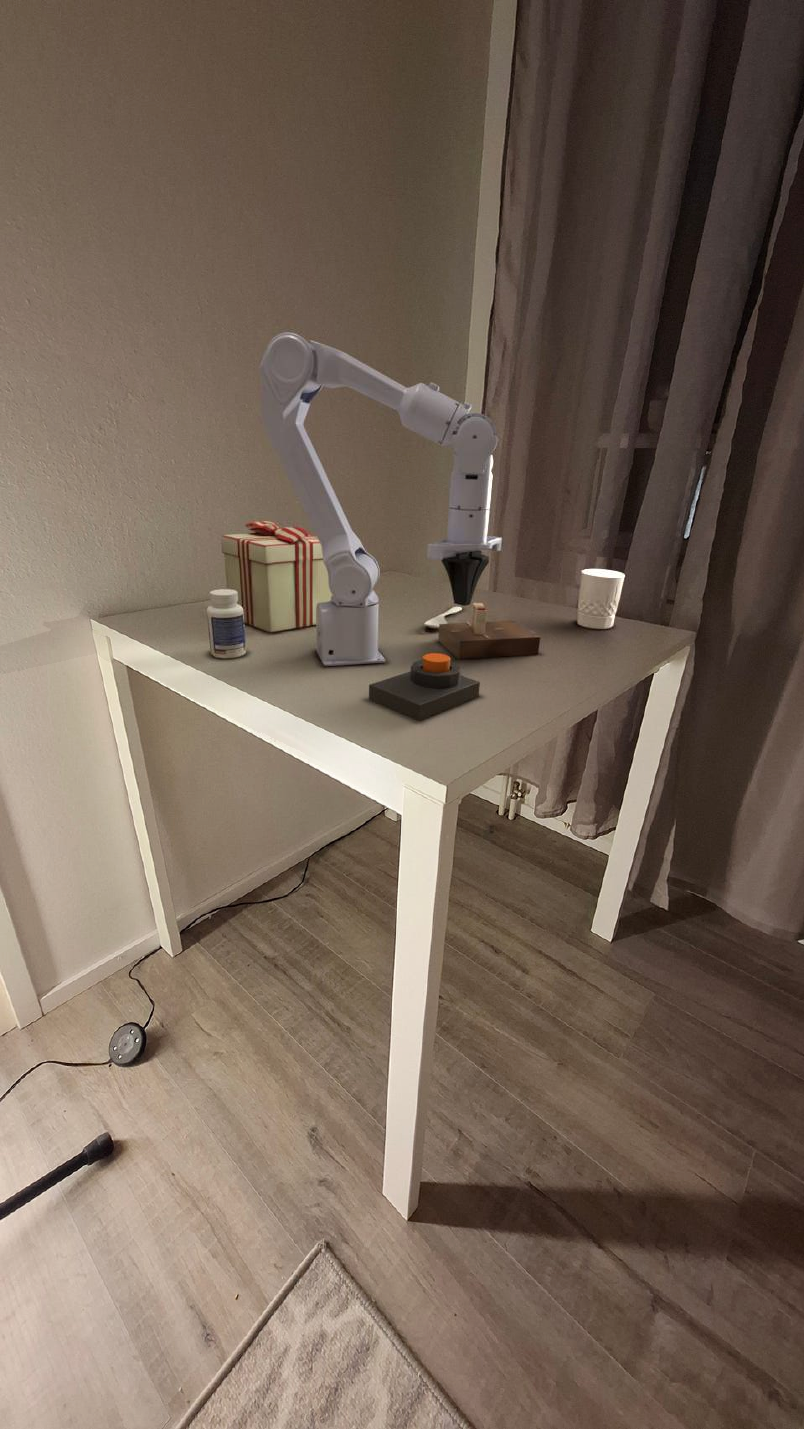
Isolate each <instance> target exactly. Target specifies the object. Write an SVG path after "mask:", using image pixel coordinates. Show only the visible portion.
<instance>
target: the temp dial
mask: <svg viewBox="0 0 804 1429" xmlns="http://www.w3.org/2000/svg"><path fill="white" fill-rule="evenodd" d="M487 612H488V611H487V609H486V607H485V606H484V604H483V603H482V602H481V603H480V602H473V603H472V610H471V619H470V620H471V621H470V623H471V627H472V629H473V632H474V634H475V635H484V634H485V623H486V622H487Z"/></svg>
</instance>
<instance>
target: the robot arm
mask: <svg viewBox="0 0 804 1429" xmlns="http://www.w3.org/2000/svg"><path fill="white" fill-rule="evenodd" d="M259 373H260V378H261V383H262V385H261V386H262V388H261V390H262V391H261V421H262V422H261V423H262V426H263V429H264V430H265V433H266V435H267V437H268V439H269V442H270V443H271V445H272V447H273V449H274V451H275V453H276V455H277V458H278V460H279V461H280V462H279V463H280V464H281V466H282V468H283V470H284V473H285V474H286V477H287V478H288V480H289V482H290V485H291V486H292V488H293V490H294V493H295V495H296V497H297V498H298V500H299V502H300V505H301V507H302V509H303V511H304V513H305V514H306V517H307V519H308V521H309V523H310V526H311V527H312V529H313V532H314V533H315V536H317V538H318V540H319V542H320V544H321V546H322V553H323V562H324V564H325V566H326V569H327V571H328V584H329V589H330V591H331V593H332V595H333V596H331V601H328V602H320V603H318V604H317V608H316V627H315V628H316V630H315V631H316V649H315V650H316V653H317V655H318V656H319V659H320V661H321V663H322V665H323V666H324V667H336V666H351V665H363V664H364V665H366V664H381V663H382V664H383V663H386V659H385V657H384V655H382V654H381V653H380V651H379V650H378V649H379V607H380V606H379V604H380V602H379V601H380V598H379V596H378V595H377V594H376V592H375V590H374V587H375V586H376V585H377V583H378V582H379V580H380V576H381V571H380V569H381V568H380V566H379V563H378V561H377V559H376V558H375V557H374V556H373V555H371V554H370V553H369V552H367V550H366V549H365V547H364V546H363V543H362V541H361V540H360V539H359V537H358V536H357V535H356V533H355V532H354V531H353V530H352V527H351V525H350V523H349V521H348V519H347V517H346V515H345V513H344V510H343V508H342V505H341V504H340V502H339V499H338V496H337V495H336V493H335V490H334V489H333V487H332V484H331V482H330V480H329V478H328V476H327V474H326V471H325V469H324V467H323V464H322V463H321V461H320V458H319V456H318V454H317V452H316V450H315V447H314V446H313V444H312V441H311V439H310V437H309V435H308V433H307V431H306V428H305V426H304V423H305V420H306V417H307V414H308V411H309V410H310V406H311V402H312V401H313V400H314V399H315V397H316V396H317V395H318V394H319V393H320V391H321V390H322V389H323V387H325V388H328V389H337V388H343V387H347V388H349V389H352V390H354V391H356V392H358V393H360V394H362V395H364V396H366V397H368V398H370V399H372V400H374V401H376V402H378V403H380V404H381V405H382V404H383V405H385V407H389V408H391V409H393V410H395V411H397V412H398V415H399V418H400V421H401V425H402V426H403V428H405V429H408V430H410V431H411V432H414V433H415V434H417V435H419V436H421V437H423V438H425V439H427V440H428V441H431V442H432V443H435V444H436V445H438V446H441V447H443V448H447V447H449V446H452V447H453V450H454V452H455V453H454V454H453V469H452V471H451V472H450V482H449V483H450V484H449V498H448V512H447V513H448V514H447V528H446V530H447V531H446V539H442V540H440V541H437V542H436V541H435V542H432V543H428V544H427V557H426V558H427V559H430V560H435V561H441V563H442V565H443V566H444V569H445V571H446V573H447V576H448V579H449V583H450V588H451V594H452V599H453V604H454V605H458V606H463V607H466V606H470V605H471V602H472V599H473V596H474V593H475V590H476V588H477V585H478V583H479V581H480V578H481V576H482V574H483V572H484V571H485V569H486V567H487V566H488V565H489V563H490V556H489V555H486V554H482V553H486V552H501V550H502V540H503V538H502V537H501V536H500V537H499V536H493V535H489V536H488V534H489V533H488V532H489V520H490V509H491V498H492V488H493V476H494V475H493V473H492V470H493V467H494V458H493V452H494V451H495V449H496V447H497V444H498V442H499V437H498V436H497V435H498V433H497V428H496V426H495V424H494V422H493V420H492V419H491V418H489V416H487V415H486V414H483V413H481V412H471V413H470V411H471V409H472V406H473V405H472V404H471V403H469V402H467V401H464V403H462V402H459V401H457V400H455V399H453V398H452V397H450V396H448V395H446V394H444V393H442V392H440V389H441V388H440V386H439V385H437V384H436V383H434V382H432V381H431V382H430V383H429V385H427V384H425V383H423V382H420V383H417V384H415V385H412V386H409V387H406V386H405V385H403V384H401V383H399V382H397V381H395V380H394V379H392V378H391V377H389V376H386V375H385V374H384V373H381V372H379V371H378V370H376V369H374V368H373V367H370V366H369V365H367V364H365V363H363V361H360V360H359V359H357V358H355V357H353V356H351V355H350V354H348V353H346V352H344V351H342V350H339V349H337V348H334V347H332V346H328V345H326V344H323V343H321V342H317V341H314V340H309V342H308V341H307V340H306V339H305V338H303V336H301V335H299V334H297V333H294V332H287V331H286V332H282V333H279V334H277V335H275V336H274V337H273V338H272V339H271V340H270V341H269V343H268V345H267V346H266V349H265V352H264V354H263V357H262V359H261V362H260V365H259Z"/></svg>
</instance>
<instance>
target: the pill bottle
mask: <svg viewBox="0 0 804 1429" xmlns="http://www.w3.org/2000/svg"><path fill="white" fill-rule="evenodd" d="M209 601H210V603H212V604H210V605H209V606H208V607H207V608H206V618H207V619H206V620H207V629H208V639H209V647H210V649H209V650H210V654H211V656H213V657H215V658H219V659H234V658H239V657H242V656H244V655H245V654H246V653H247V643H246V628H245V627H246V626H245V623H244V612H243V608H242V607H241V606H240V605H238V604H237V601H238V594H237V591H235V590H230V589H227V588H221V589H220V588H219V589H213V590H211V591H209Z"/></svg>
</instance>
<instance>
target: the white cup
mask: <svg viewBox="0 0 804 1429" xmlns="http://www.w3.org/2000/svg"><path fill="white" fill-rule="evenodd" d="M625 577H626V574H625V573H624V572H620V571H616V570H611V569H602V568H588V569H583V570H581V572H580V582H579V590H578V602H577V617H576V623H577V625H578V626H581V627H583V628H588V629H595V630H607V629H611V628H612V627H614V623H615V618H616V613H617V611H618V608H619V604H620V600H621V596H622V590H623V586H624V583H625V582H624V581H625Z"/></svg>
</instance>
